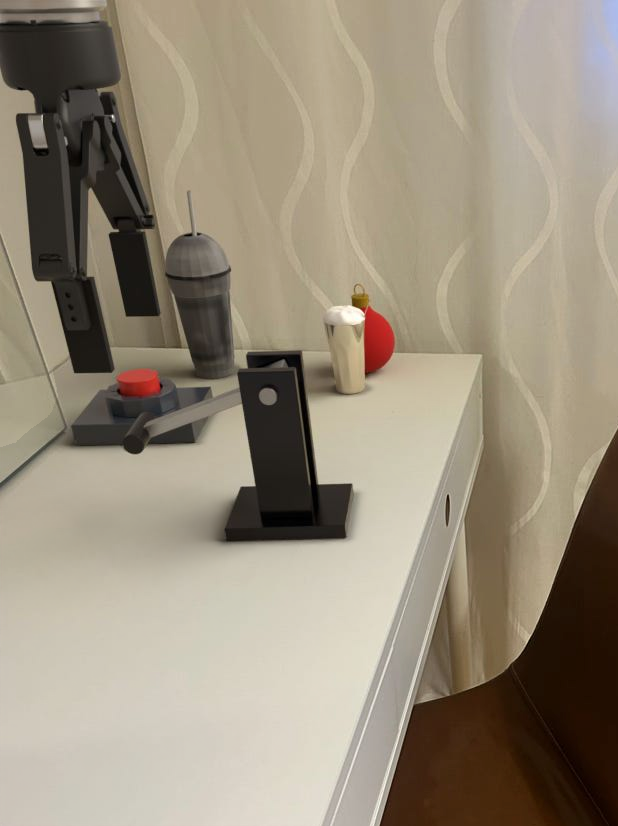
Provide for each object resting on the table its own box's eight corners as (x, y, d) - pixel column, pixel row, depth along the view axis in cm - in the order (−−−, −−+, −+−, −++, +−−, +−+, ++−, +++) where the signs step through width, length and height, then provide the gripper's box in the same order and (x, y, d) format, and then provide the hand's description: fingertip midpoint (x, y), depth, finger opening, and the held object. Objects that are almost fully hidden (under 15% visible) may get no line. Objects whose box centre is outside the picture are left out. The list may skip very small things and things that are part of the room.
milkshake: (372, 397, 107) (364, 305, 102) (325, 395, 108) (315, 304, 103) (382, 383, 111) (375, 293, 105) (337, 381, 112) (327, 292, 106)
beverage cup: (229, 357, 119) (199, 180, 108) (258, 372, 115) (230, 189, 103) (173, 371, 116) (137, 189, 104) (201, 387, 111) (166, 198, 100)
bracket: (226, 541, 81) (195, 380, 73) (242, 498, 87) (216, 346, 80) (346, 537, 81) (328, 376, 73) (353, 495, 88) (338, 343, 80)
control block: (76, 445, 98) (65, 408, 96) (104, 408, 106) (95, 373, 104) (195, 442, 98) (187, 404, 96) (214, 405, 106) (208, 370, 104)
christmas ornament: (324, 374, 114) (314, 286, 108) (363, 357, 119) (356, 272, 113) (369, 385, 111) (362, 296, 105) (408, 367, 115) (403, 281, 110)
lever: (131, 461, 78) (115, 435, 77) (147, 436, 82) (132, 411, 81) (291, 402, 76) (278, 374, 74) (299, 380, 80) (286, 352, 79)
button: (115, 399, 98) (111, 382, 97) (126, 385, 102) (122, 369, 101) (155, 398, 98) (151, 381, 97) (164, 384, 102) (161, 368, 101)
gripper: (41, 27, 53) (125, 399, 65) (155, 9, 74) (202, 295, 86) (-97, 29, 53) (13, 401, 65) (55, 10, 73) (117, 296, 86)
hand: (121, 341), depth 76 cm, fingers open, 13 cm apart
